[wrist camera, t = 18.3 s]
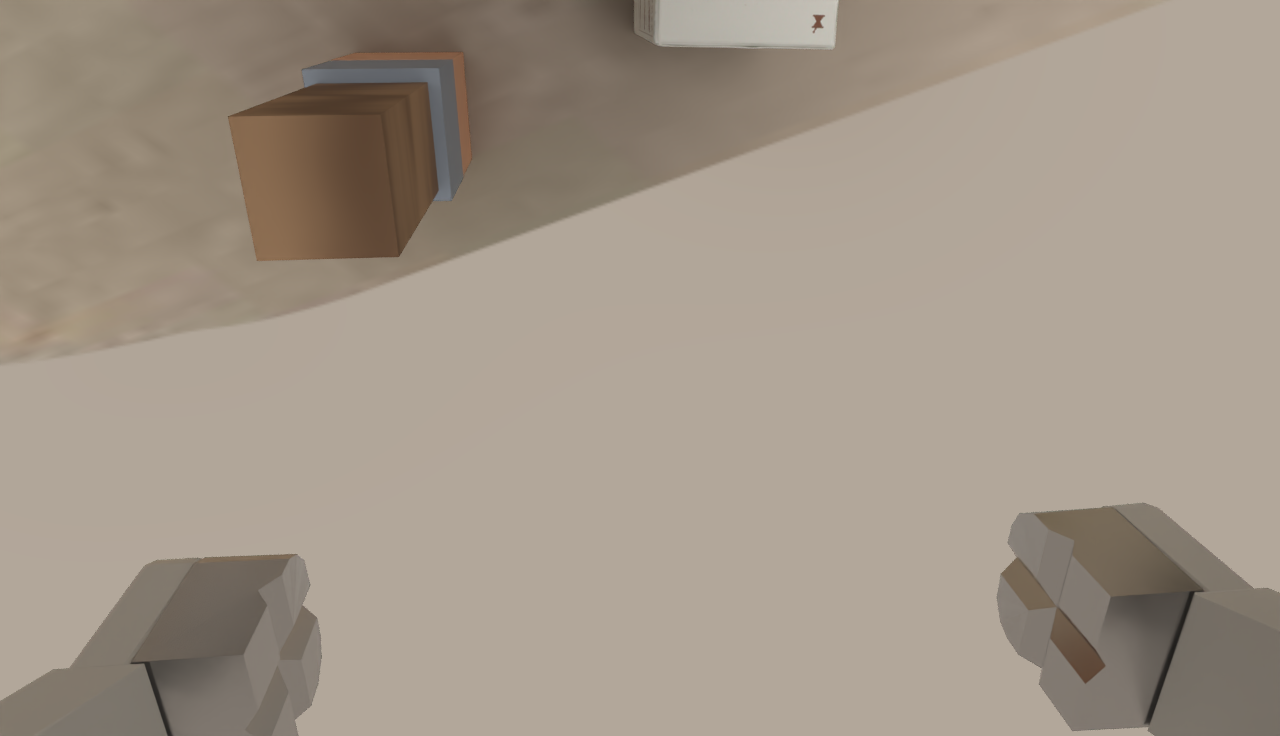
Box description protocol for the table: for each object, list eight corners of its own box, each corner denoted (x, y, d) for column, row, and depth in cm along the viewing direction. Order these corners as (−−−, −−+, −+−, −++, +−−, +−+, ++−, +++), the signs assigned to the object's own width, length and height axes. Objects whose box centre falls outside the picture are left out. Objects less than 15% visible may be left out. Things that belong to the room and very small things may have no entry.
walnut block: (333, 192, 36) (257, 260, 27) (316, 83, 34) (227, 116, 25) (438, 190, 36) (399, 256, 27) (427, 82, 34) (380, 114, 25)
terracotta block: (369, 160, 45) (348, 179, 40) (355, 52, 43) (331, 59, 38) (471, 158, 45) (462, 177, 41) (463, 52, 43) (452, 59, 39)
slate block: (349, 180, 40) (323, 203, 36) (332, 60, 38) (301, 69, 34) (463, 177, 41) (451, 200, 36) (452, 59, 39) (438, 68, 34)
